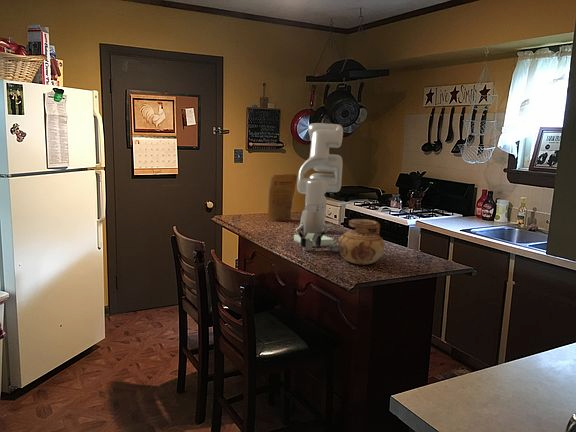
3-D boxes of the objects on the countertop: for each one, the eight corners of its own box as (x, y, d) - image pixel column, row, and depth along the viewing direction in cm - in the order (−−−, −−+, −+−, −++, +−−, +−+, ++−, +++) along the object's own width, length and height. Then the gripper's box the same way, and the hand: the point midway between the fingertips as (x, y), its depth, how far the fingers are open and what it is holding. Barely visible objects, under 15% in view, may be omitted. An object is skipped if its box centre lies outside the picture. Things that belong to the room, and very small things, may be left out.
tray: (318, 238, 244) (318, 233, 244) (333, 245, 232) (333, 239, 232) (293, 240, 237) (294, 234, 237) (308, 247, 225) (308, 240, 225)
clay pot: (355, 263, 189) (349, 214, 193) (333, 269, 206) (327, 223, 210) (395, 260, 197) (388, 213, 201) (371, 266, 214) (364, 222, 217)
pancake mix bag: (296, 221, 290) (299, 174, 285) (268, 222, 281) (271, 174, 276) (291, 219, 296) (294, 173, 291) (263, 220, 286) (266, 173, 282)
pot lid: (339, 248, 225) (340, 241, 225) (349, 253, 219) (350, 245, 218) (325, 249, 222) (326, 242, 221) (335, 254, 215) (335, 246, 214)
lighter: (304, 250, 218) (305, 233, 216) (302, 249, 219) (303, 232, 218) (318, 250, 221) (319, 232, 219) (316, 249, 222) (317, 232, 221)
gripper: (324, 206, 224) (322, 243, 227) (292, 206, 216) (289, 245, 219) (333, 208, 218) (331, 247, 221) (300, 209, 209) (298, 249, 212)
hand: (310, 245), depth 220 cm, fingers closed on lighter, 7 cm apart
